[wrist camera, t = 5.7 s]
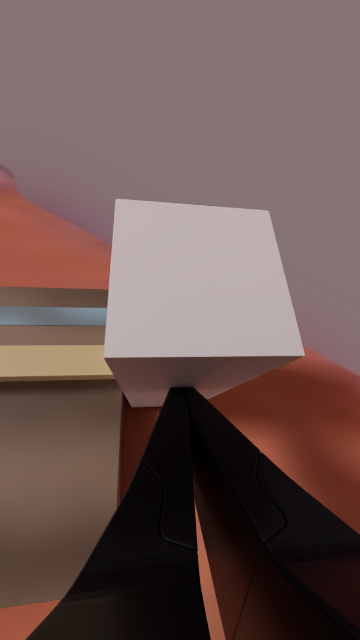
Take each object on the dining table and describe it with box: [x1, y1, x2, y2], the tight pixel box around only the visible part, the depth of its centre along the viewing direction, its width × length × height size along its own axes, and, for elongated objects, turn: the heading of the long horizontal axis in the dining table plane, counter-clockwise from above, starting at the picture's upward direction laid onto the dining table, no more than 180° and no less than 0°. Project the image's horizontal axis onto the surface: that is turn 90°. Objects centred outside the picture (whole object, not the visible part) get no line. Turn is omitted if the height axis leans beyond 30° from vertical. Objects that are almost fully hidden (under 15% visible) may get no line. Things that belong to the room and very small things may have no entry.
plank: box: [0, 287, 124, 608], centre depth 14 cm, size 15×10×2 cm, turn 3°
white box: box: [0, 199, 305, 407], centre depth 10 cm, size 4×13×12 cm, turn 93°
